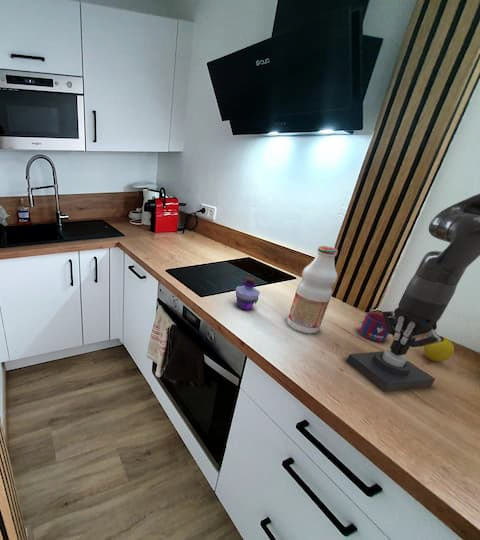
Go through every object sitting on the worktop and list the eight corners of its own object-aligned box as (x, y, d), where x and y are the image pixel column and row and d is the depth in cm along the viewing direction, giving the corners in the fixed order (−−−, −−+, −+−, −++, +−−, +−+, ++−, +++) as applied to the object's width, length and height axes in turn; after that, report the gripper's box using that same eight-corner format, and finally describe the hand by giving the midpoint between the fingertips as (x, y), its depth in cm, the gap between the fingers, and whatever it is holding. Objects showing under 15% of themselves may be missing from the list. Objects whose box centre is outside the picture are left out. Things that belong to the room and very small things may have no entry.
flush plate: (388, 357, 83) (394, 345, 81) (430, 386, 73) (439, 373, 71) (346, 361, 81) (351, 348, 79) (383, 391, 71) (391, 378, 69)
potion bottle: (259, 314, 103) (266, 284, 99) (234, 311, 105) (240, 282, 100) (253, 302, 111) (259, 274, 106) (230, 300, 112) (235, 272, 108)
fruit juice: (296, 334, 93) (323, 253, 82) (281, 318, 101) (303, 243, 90) (324, 334, 93) (355, 254, 82) (307, 318, 101) (332, 244, 90)
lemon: (446, 369, 79) (461, 346, 76) (419, 360, 82) (431, 337, 79) (444, 360, 83) (458, 337, 80) (418, 351, 86) (430, 329, 83)
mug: (361, 338, 92) (369, 320, 89) (355, 322, 100) (362, 306, 97) (387, 344, 89) (396, 326, 86) (379, 328, 97) (387, 311, 94)
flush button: (391, 355, 78) (394, 349, 77) (408, 366, 74) (411, 360, 73) (377, 356, 77) (380, 350, 76) (393, 368, 73) (397, 362, 72)
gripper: (475, 309, 62) (437, 370, 69) (410, 282, 74) (383, 337, 81) (446, 310, 61) (411, 373, 68) (385, 283, 73) (360, 338, 80)
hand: (396, 353), depth 74 cm, fingers closed
